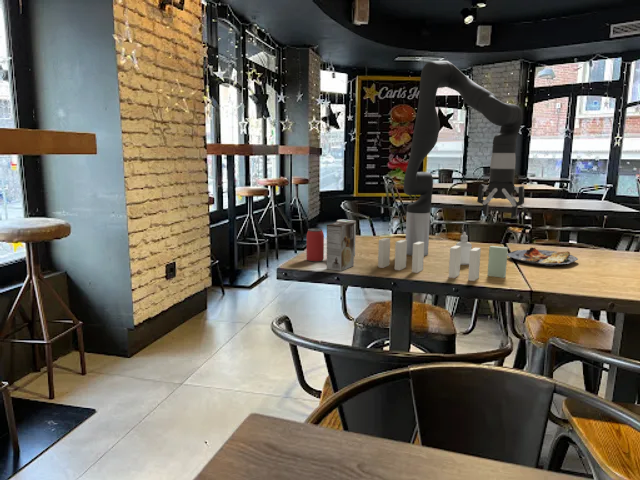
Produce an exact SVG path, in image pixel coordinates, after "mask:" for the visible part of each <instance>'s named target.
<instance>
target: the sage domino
mask: <svg viewBox="0 0 640 480" xmlns="http://www.w3.org/2000/svg"><path fill="white" fill-rule="evenodd" d="M508 248H509V247H508V246H507V247H506V246H497V245H490V246H489V249H488V263H487V276H488V277H496V278H503V279H505V278H506V277H507V265H508V256H507V254H508V253H509V251H508V250H509V249H508Z"/></svg>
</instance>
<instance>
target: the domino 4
mask: <svg viewBox="0 0 640 480" xmlns="http://www.w3.org/2000/svg"><path fill="white" fill-rule="evenodd" d="M460 258H461V246H456V244H454V245H453V246H451V247H450V248H449V261H448V264H449V265H448V278H451V279H456V278H457V277H459V276H460V275H461V274H460V272H461V265H460Z"/></svg>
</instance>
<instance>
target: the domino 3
mask: <svg viewBox="0 0 640 480" xmlns="http://www.w3.org/2000/svg"><path fill="white" fill-rule="evenodd" d="M411 256H412V255H411ZM424 259H425V257H424V242H416V243H414V244H413V256H412V258H411V260H412V261H411V273H415V274H417V273H420V272H422V271H423V270H424Z"/></svg>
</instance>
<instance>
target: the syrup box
mask: <svg viewBox="0 0 640 480" xmlns="http://www.w3.org/2000/svg"><path fill="white" fill-rule="evenodd" d="M336 222H349V223H354V257H355V256H356V233H357V232H356V228H357V226H356V225H357V221H356V220H350V219H343V218H342V219H337V220H336Z"/></svg>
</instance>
